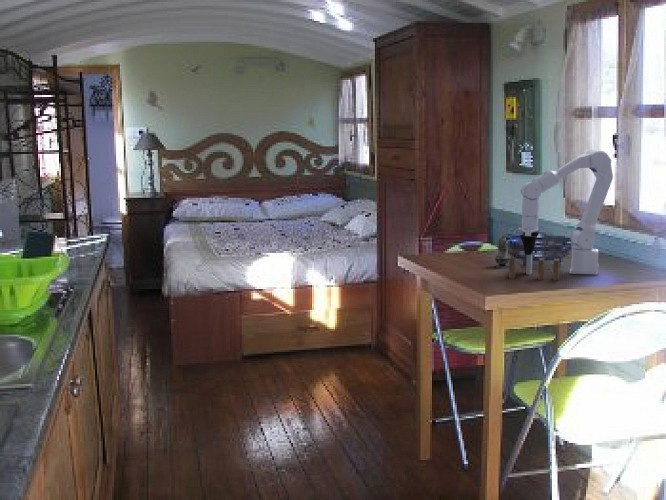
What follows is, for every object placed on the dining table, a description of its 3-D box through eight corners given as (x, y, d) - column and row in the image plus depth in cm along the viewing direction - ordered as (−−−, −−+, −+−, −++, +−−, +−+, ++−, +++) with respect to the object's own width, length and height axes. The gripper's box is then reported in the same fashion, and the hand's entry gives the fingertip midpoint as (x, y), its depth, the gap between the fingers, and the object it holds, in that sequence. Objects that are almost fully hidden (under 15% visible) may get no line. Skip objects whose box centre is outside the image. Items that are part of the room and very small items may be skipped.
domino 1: (515, 276, 275) (515, 257, 274) (513, 278, 271) (514, 259, 270) (510, 276, 275) (510, 256, 274) (509, 278, 271) (509, 259, 270)
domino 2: (531, 272, 281) (532, 253, 280) (530, 274, 277) (531, 255, 276) (527, 272, 282) (527, 253, 281) (526, 274, 278) (526, 255, 277)
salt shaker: (510, 268, 290) (510, 236, 288) (494, 268, 291) (494, 236, 289) (509, 265, 296) (510, 234, 294) (494, 265, 297) (494, 234, 295)
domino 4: (558, 278, 270) (559, 258, 269) (558, 280, 266) (558, 260, 265) (554, 278, 270) (554, 258, 269) (553, 280, 266) (553, 260, 265)
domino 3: (544, 277, 271) (544, 258, 270) (543, 280, 267) (543, 260, 266) (539, 277, 272) (539, 258, 271) (538, 279, 268) (538, 260, 267)
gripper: (520, 213, 284) (520, 249, 287) (516, 217, 271) (515, 255, 273) (540, 213, 282) (539, 250, 284) (537, 218, 269) (536, 256, 271)
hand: (529, 253), depth 278 cm, fingers open, 7 cm apart
